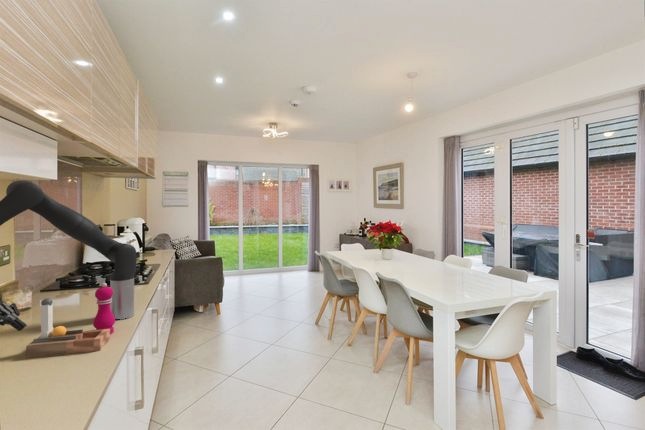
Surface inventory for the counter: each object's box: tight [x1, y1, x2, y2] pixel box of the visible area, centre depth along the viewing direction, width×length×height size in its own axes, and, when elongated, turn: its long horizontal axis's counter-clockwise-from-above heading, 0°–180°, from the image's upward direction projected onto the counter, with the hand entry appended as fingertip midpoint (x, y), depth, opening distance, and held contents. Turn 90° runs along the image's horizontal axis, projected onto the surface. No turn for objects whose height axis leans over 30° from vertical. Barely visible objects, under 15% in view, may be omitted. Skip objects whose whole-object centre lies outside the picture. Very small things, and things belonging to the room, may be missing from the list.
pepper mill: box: [92, 282, 116, 335], centre depth 127 cm, size 7×7×20 cm
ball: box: [52, 325, 67, 337], centre depth 113 cm, size 4×4×4 cm
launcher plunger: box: [39, 297, 55, 338], centre depth 112 cm, size 4×3×14 cm
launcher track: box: [25, 328, 111, 359], centre depth 114 cm, size 10×21×5 cm, turn 107°
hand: (23, 328), depth 110 cm, fingers closed
